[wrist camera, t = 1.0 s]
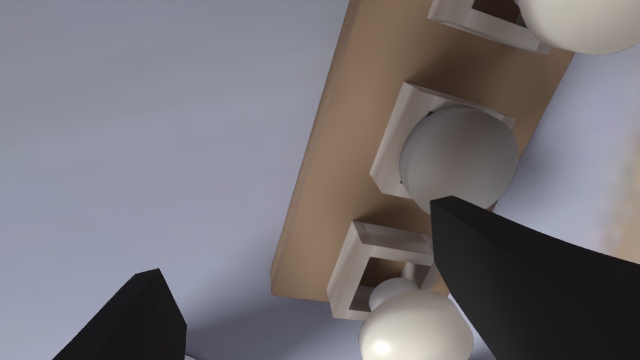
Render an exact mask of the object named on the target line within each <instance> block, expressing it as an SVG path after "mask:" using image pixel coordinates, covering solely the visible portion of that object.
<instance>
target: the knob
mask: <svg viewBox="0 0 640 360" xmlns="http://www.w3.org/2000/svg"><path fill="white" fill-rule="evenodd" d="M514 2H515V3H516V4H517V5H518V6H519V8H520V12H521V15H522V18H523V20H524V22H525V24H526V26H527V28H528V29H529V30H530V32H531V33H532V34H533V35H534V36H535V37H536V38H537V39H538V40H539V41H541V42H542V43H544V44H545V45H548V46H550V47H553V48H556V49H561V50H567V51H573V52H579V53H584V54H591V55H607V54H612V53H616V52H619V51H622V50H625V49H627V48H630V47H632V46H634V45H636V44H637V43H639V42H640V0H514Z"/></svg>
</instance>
